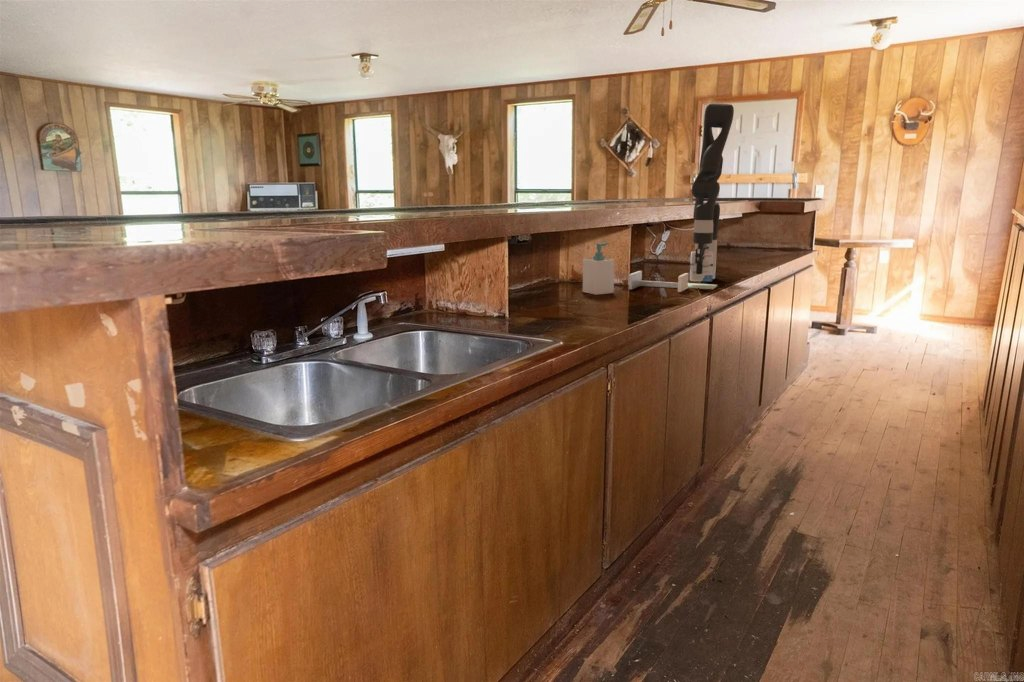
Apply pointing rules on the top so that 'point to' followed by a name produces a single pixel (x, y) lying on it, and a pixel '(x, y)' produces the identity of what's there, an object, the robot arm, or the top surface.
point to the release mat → (701, 286)
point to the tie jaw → (683, 282)
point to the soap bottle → (598, 273)
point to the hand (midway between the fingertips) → (700, 272)
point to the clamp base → (647, 282)
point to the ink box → (706, 269)
